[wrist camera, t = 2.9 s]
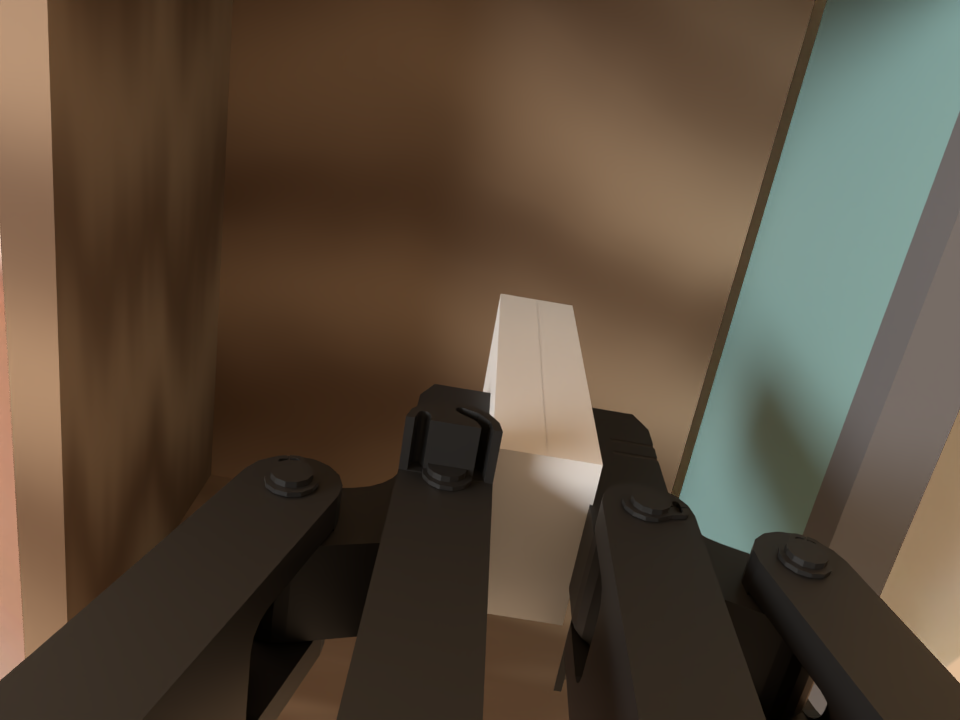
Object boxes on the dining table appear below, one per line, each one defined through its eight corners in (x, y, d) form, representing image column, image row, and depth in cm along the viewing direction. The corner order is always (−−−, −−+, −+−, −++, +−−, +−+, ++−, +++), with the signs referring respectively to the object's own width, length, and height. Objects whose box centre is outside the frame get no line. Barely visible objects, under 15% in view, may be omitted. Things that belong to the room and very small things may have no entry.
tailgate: (693, 576, 30) (776, 838, 20) (654, 570, 30) (719, 830, 20) (904, -87, 22) (1201, -158, 12) (851, -97, 22) (1109, -176, 12)
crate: (644, 552, 31) (709, 821, 21) (191, 479, 30) (28, 718, 20) (830, -94, 23) (1087, -175, 13) (215, -206, 22) (-36, -386, 12)
